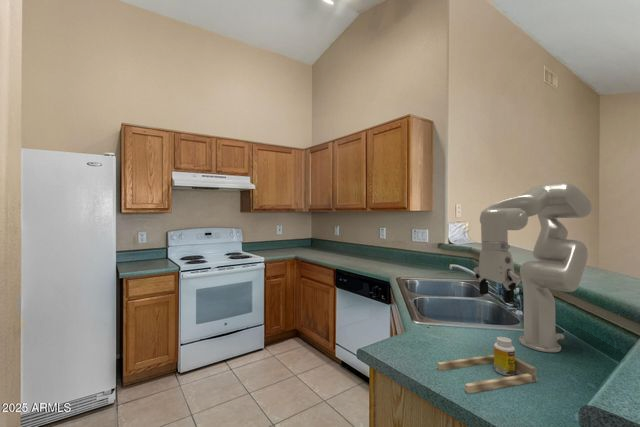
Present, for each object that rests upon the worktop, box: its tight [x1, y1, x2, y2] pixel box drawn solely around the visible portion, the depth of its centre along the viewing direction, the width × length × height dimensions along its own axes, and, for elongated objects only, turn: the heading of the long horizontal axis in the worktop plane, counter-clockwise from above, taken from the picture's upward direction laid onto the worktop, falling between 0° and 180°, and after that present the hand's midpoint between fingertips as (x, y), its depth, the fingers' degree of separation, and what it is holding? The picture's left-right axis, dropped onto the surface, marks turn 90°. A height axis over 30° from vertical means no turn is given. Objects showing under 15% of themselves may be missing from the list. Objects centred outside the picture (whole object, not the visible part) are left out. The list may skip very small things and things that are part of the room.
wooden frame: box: [436, 354, 538, 394], centre depth 89 cm, size 24×13×4 cm, turn 104°
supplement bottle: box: [493, 336, 516, 377], centre depth 91 cm, size 6×6×10 cm
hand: (496, 297), depth 96 cm, fingers open, 9 cm apart
